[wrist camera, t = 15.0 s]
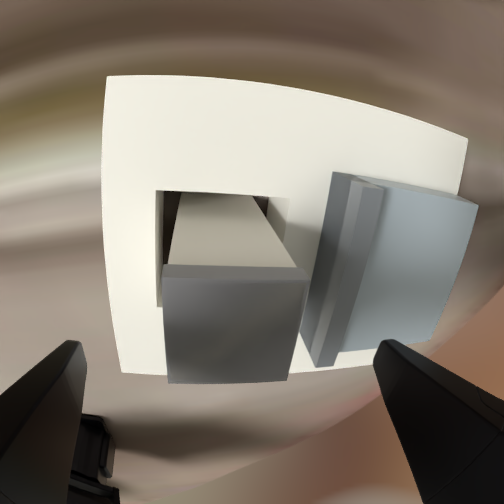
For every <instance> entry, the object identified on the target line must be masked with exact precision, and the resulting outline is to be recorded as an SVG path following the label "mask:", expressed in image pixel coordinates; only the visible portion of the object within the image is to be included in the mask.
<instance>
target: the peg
mask: <svg viewBox="0 0 504 504" xmlns="http://www.w3.org/2000/svg"><path fill="white" fill-rule="evenodd" d="M161 285H162V308H163V326H164V341H165V354H166V366H167V376H168V383H175V384H232V383H257V382H274V381H287V377H288V373H289V369H290V366H291V362H292V358H293V354H294V350H295V346H296V341H297V337H298V333H299V329H300V325H301V320H302V316H303V312H304V307H305V303H306V298H307V294H308V289H309V285H310V279H309V277H308V275H307V274H306V272H305V271H304V269H303V268H302V267H296V265H295V263H294V262H293V260H292V259H291V257H290V255H289V254H288V252H287V251H286V249H285V247H284V246H283V244H282V243H281V241H280V239H279V238H278V236H277V235H276V233H275V231H274V230H273V228H272V227H271V225H270V224H269V222H268V220H267V219H266V217H265V216H264V214H263V213H262V211H261V209H260V208H259V206H258V205H257V203H256V202H255V200H254V198H253V197H252V196H246V195H229V194H209V193H185V192H182V193H181V198H180V202H179V207H178V212H177V217H176V222H175V227H174V232H173V238H172V243H171V248H170V254H169V260H168V264H164V266H163V271H162V276H161Z"/></svg>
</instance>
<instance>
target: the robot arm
mask: <svg viewBox="0 0 504 504" xmlns="http://www.w3.org/2000/svg"><path fill="white" fill-rule="evenodd" d="M373 367H374V370H375V373H376V376H377V380H378V383H379V386H380V390H381V393H382V396H383V399H384V402H385V405H386V407H387V410H388V413H389V415H390V417H391V420H392V422H393V425H394V427H395V430H396V432H397V434H398V437H399V440H400V442H401V445H402V447H403V450H404V453H405V455H406V458H407V460H408V463H409V466H410V468H411V471H412V473H413V477H414V479H415V482H416V484H417V487H418V490H419V493H420V496H421V499H422V502H423V503H424V504H504V401H503V400H502V399H499V398H497V397H495V396H494V395H492V394H490V393H488V392H486V391H484V390H483V389H481V388H479V387H476V386H475V385H474V384H472V383H470V382H468V381H466V380H465V379H463V378H461V377H460V376H458V375H456V374H454V373H453V372H451V371H449V370H447V369H446V368H444V367H442V366H440V365H438V364H437V363H435V362H433V361H432V360H430V359H428V358H426V357H425V356H423V355H421V354H419V353H418V352H416V351H414V350H412V349H411V348H409V347H407V346H405V345H404V344H402V343H400V342H398V341H397V340H395V339H385V340H382V341H381V342H380V344H379V347H378V349H377V351H376V353H375V356H374V358H373ZM86 374H87V362H86V358H85V354H84V351H83V347H82V344H81V342H79V341H74V340H67V341H65V342H64V343H62V344H61V345H60V346H59V347H57V348H56V349H55V350H54V351H53V352H51V353H50V354H49V355H48V356H46V357H45V358H44V359H43V360H41V361H40V362H39V363H38V364H37V365H35V366H34V367H33V368H32V369H31V370H29V371H28V372H27V373H26V374H25V375H23V376H22V377H21V378H20V379H19V380H17V381H16V382H15V383H14V384H13V385H12V386H10V387H9V388H8V389H7V390H6V391H4V392H3V393H2V394H1V395H0V504H120V497H119V489H118V488H115V487H110V486H106V480H107V478H111V477H112V474H113V464H114V454H115V444H114V442H113V439H112V437H111V435H110V434H109V433H108V431H107V429H106V426H105V424H104V421H103V419H101V418H99V417H93V416H86V415H81V414H82V406H83V397H84V389H85V381H86Z"/></svg>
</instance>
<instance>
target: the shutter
mask: <svg viewBox="0 0 504 504" xmlns="http://www.w3.org/2000/svg"><path fill="white" fill-rule="evenodd" d="M478 207H479V205H477V204H475V203H473V202H471V201H469V200H467V199H464V198H462V197H460V196H458V195H455V194H451V193H446V192H442V191H438V190H433V189H428V188H424V187H419V186H414V185H409V184H404V183H399V182H394V181H388V180H383V179H377V178H371V177H366V176H360V175H353V174H347V173H340V172H334V171H332V177H331V183H330V188H329V194H328V200H327V205H326V210H325V216H324V221H323V226H322V231H321V236H320V241H319V246H318V251H317V256H316V260H315V265H314V270H313V274H312V279H311V283H310V288H309V292H308V296H307V301H306V305H305V309H304V314H303V318H302V322H301V326H300V330H299V333H300V335H301V337H302V339H303V342H304V344H305V346H306V348H307V350H308V353H309V355H310V357H311V359H312V362H313V364H314V366H315V368H320V367H330V366H334V363H335V360H336V358H337V355H338V353H339V352H349V351H359V350H368V349H376V348H378V347H379V344H380V342H381V341H382V340H385V339H395V340H397V341H398V342H400V343H402V344H404V345H405V344H412V343H418V342H424V341H429V340H430V338H431V336H432V334H433V332H434V330H435V328H436V325H437V323H438V321H439V319H440V316H441V314H442V312H443V309H444V307H445V305H446V302H447V300H448V297H449V295H450V292H451V290H452V287H453V285H454V282H455V280H456V277H457V274H458V271H459V269H460V266H461V263H462V260H463V257H464V254H465V251H466V248H467V245H468V242H469V239H470V235H471V232H472V229H473V225H474V222H475V218H476V214H477V211H478Z"/></svg>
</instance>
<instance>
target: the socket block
mask: <svg viewBox="0 0 504 504" xmlns="http://www.w3.org/2000/svg"><path fill="white" fill-rule="evenodd" d="M467 143H468V139H467V138H465V137H462V136H460V135H457V134H455V133H452V132H450V131H447V130H445V129H442V128H439V127H437V126H434V125H431V124H429V123H426V122H423V121H420V120H417V119H414V118H411V117H408V116H405V115H402V114H399V113H396V112H392V111H389V110H386V109H382V108H379V107H375V106H372V105H368V104H364V103H361V102H357V101H353V100H349V99H345V98H341V97H336V96H332V95H327V94H323V93H318V92H313V91H308V90H303V89H297V88H291V87H285V86H279V85H273V84H266V83H259V82H251V81H242V80H233V79H223V78H210V77H195V76H170V75H131V76H107V82H106V92H105V103H104V117H103V134H102V219H103V237H104V251H105V263H106V273H107V283H108V291H109V299H110V307H111V314H112V320H113V327H114V333H115V339H116V345H117V350H118V355H119V360H120V365H121V370H122V372H124V373H138V374H155V375H167V366H166V354H165V341H164V326H163V308H162V285H161V276H162V271H163V212H164V190H165V191H189V192H209V193H226V194H241V195H256V196H269V201H268V208H267V216H266V219H267V220H268V222H269V224H270V225H271V227H272V228H273V230H274V231H275V233H276V235H277V236H278V238H279V239H280V241H281V243H282V244H283V246H284V247H285V249H286V251H287V252H288V254H289V255H290V257H291V259H292V260H293V262H294V263H295V265H296V267H302V268H303V269H304V271H305V272H306V274H307V275H308V277H309V279H310V283H311V279H312V274H313V270H314V265H315V260H316V256H317V251H318V246H319V241H320V236H321V231H322V226H323V221H324V216H325V210H326V205H327V200H328V194H329V188H330V183H331V177H332V171H334V172H340V173H347V174H353V175H360V176H366V177H371V178H377V179H383V180H388V181H394V182H399V183H404V184H409V185H414V186H419V187H424V188H428V189H433V190H438V191H442V192H446V193H451V194H455V195H457V194H458V190H459V185H460V181H461V176H462V171H463V166H464V161H465V155H466V149H467ZM309 288H310V285H309ZM308 292H309V289H308ZM307 296H308V294H307ZM306 301H307V298H306ZM305 305H306V303H305ZM304 309H305V307H304ZM303 314H304V312H303ZM302 318H303V316H302ZM301 322H302V320H301ZM300 326H301V325H300ZM299 330H300V329H299ZM377 349H378V348H376V349H368V350H359V351H349V352H339V353H338V355H337V358H336V360H335V363H334V366H330V367H320V368H315V366H314V364H313V362H312V359H311V357H310V355H309V353H308V350H307V348H306V346H305V344H304V342H303V339H302V337H301V335H300V333H298V337H297V341H296V346H295V350H294V354H293V358H292V362H291V366H290V369H289V373H298V372H310V371H321V370H331V369H340V368H348V367H356V366H364V365H371V364H373V358H374V356H375V353H376V351H377Z"/></svg>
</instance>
